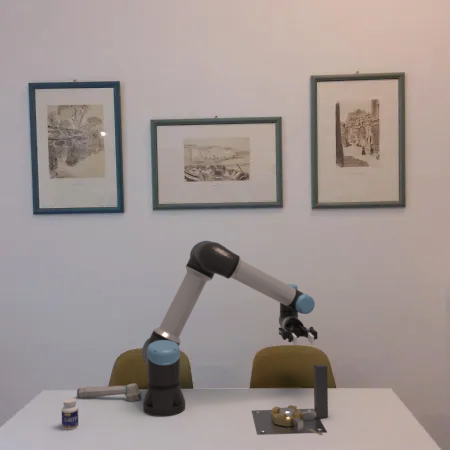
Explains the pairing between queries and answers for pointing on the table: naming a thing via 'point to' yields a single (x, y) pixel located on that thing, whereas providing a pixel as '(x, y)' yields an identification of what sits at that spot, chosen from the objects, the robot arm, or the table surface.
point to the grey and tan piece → (319, 401)
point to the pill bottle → (69, 414)
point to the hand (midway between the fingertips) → (304, 340)
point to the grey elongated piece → (111, 391)
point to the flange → (268, 427)
